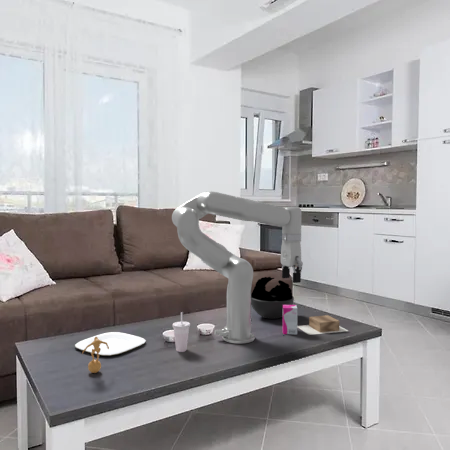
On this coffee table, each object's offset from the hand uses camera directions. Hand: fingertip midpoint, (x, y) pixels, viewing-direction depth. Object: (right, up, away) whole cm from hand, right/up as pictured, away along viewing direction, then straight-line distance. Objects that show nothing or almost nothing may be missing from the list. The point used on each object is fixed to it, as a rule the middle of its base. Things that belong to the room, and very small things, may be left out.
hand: (291, 280), depth 177 cm
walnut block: (+15, -21, +7) cm, 26 cm away
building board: (+14, -22, +6) cm, 26 cm away
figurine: (-67, -24, -40) cm, 82 cm away
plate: (-69, -23, -14) cm, 74 cm away
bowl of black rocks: (-5, -21, +24) cm, 32 cm away
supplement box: (0, -22, +1) cm, 22 cm away
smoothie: (-42, -23, -18) cm, 52 cm away
